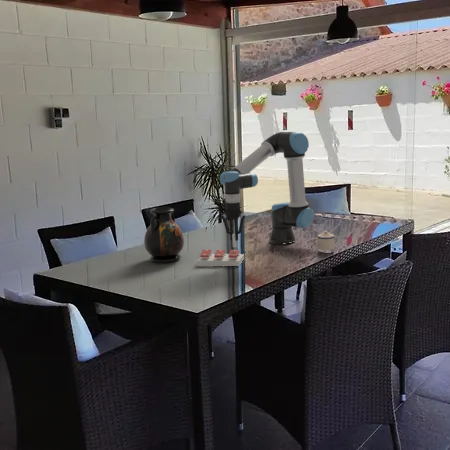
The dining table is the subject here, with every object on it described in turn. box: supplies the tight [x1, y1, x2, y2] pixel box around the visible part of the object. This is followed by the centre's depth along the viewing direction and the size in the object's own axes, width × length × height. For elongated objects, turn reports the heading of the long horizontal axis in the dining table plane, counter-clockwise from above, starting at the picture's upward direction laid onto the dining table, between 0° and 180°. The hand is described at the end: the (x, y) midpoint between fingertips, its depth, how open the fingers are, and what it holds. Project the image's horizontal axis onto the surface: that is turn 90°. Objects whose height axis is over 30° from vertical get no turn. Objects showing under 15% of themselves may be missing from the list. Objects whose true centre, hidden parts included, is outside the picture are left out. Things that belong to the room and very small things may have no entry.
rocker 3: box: [228, 249, 240, 258], centre depth 302 cm, size 4×6×3 cm
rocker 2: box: [214, 249, 226, 258], centre depth 304 cm, size 4×6×3 cm
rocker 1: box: [199, 249, 212, 258], centre depth 306 cm, size 4×6×3 cm
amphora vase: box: [143, 206, 185, 264], centre depth 315 cm, size 22×22×28 cm
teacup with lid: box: [312, 230, 335, 250], centre depth 319 cm, size 12×9×12 cm
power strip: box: [196, 253, 245, 268], centre depth 306 cm, size 22×14×3 cm, turn 77°
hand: (234, 246), depth 304 cm, fingers closed
